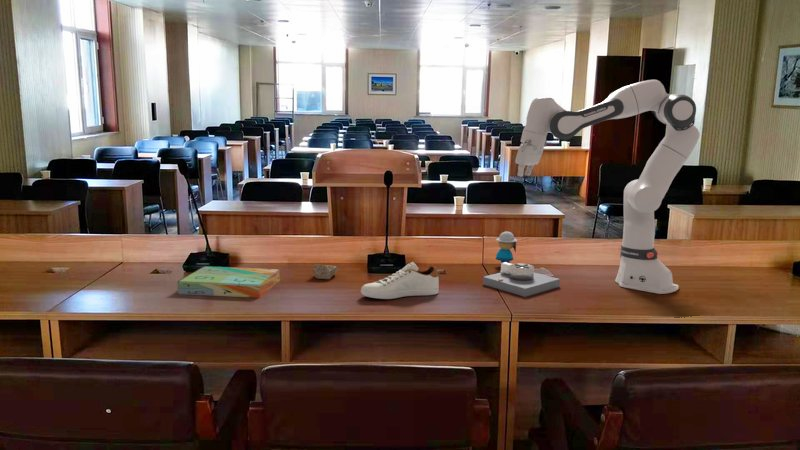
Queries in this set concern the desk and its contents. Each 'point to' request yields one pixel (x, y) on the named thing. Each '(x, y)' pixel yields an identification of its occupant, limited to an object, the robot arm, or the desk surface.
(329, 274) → the rock
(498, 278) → the panel
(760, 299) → the desk surface
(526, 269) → the dial
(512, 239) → the toy
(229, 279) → the box
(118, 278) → the desk surface
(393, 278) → the Shoe
